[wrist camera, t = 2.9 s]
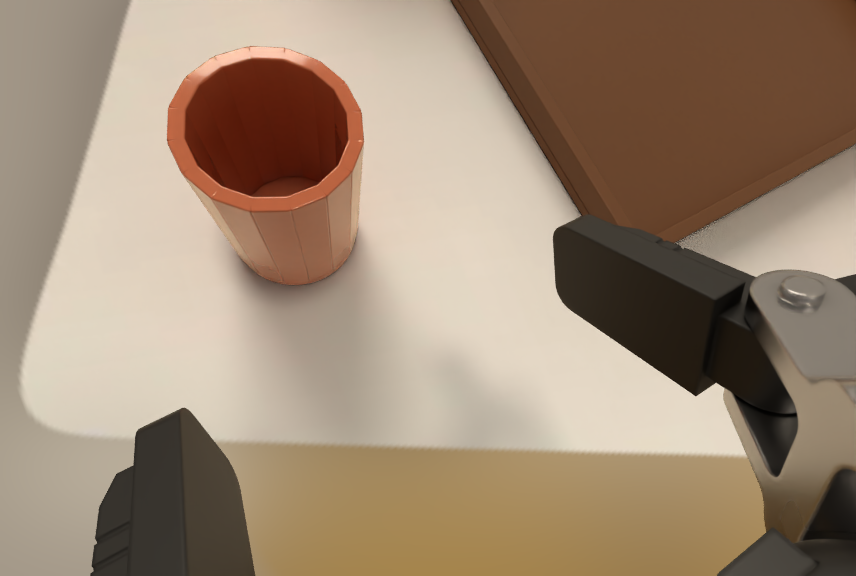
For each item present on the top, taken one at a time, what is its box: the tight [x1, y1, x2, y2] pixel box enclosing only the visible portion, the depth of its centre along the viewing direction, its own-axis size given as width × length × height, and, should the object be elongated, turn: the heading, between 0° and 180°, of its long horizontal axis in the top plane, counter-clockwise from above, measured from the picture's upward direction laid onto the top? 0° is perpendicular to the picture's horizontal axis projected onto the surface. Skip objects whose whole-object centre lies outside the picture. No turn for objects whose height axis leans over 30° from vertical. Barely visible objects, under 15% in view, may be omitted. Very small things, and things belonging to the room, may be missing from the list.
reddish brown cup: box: [167, 46, 364, 285], centre depth 18 cm, size 6×6×8 cm
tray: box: [451, 0, 856, 243], centre depth 29 cm, size 30×21×2 cm
